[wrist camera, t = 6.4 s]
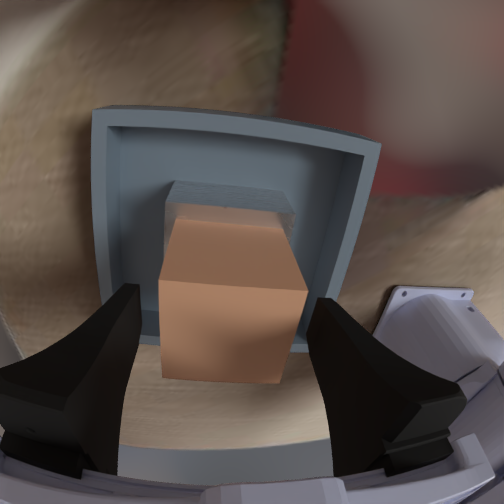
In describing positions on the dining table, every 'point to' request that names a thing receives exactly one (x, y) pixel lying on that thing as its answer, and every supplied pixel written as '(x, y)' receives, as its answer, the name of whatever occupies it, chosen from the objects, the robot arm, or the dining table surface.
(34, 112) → the dining table surface
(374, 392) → the robot arm
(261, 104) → the dining table surface
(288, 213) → the steel block
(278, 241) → the carton
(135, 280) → the tote
